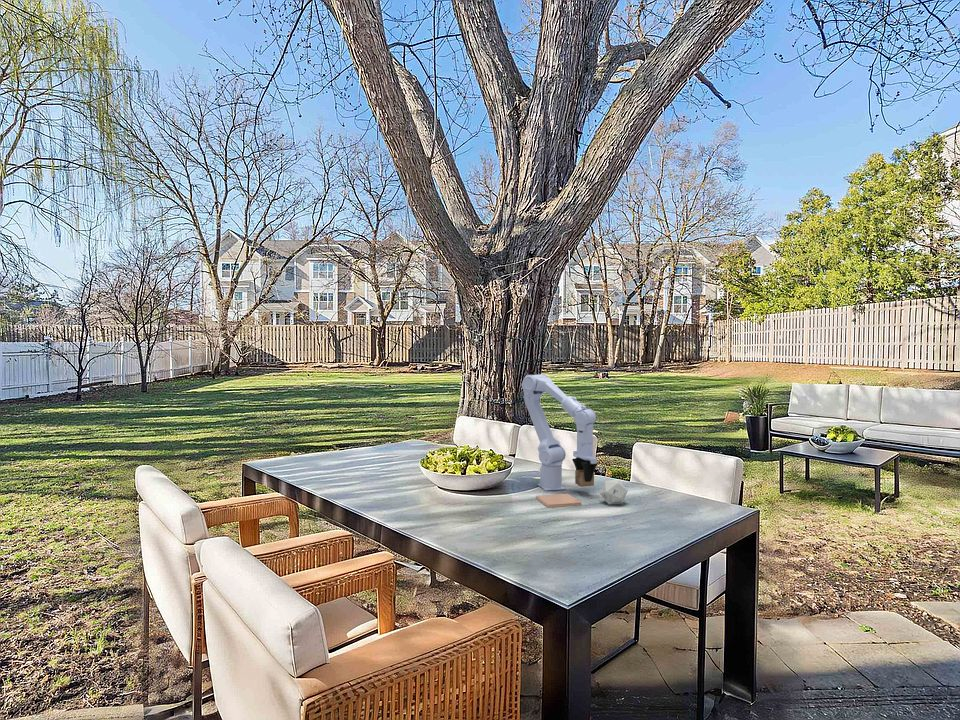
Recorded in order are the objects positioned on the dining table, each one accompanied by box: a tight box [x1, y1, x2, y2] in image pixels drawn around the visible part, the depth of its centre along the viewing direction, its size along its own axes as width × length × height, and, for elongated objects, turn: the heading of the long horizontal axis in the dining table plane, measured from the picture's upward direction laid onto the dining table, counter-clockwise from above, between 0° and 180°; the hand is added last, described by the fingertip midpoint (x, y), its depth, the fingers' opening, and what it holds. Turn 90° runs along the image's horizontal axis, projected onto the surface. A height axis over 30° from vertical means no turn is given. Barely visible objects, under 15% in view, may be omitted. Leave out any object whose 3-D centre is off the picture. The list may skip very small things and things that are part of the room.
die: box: [599, 479, 628, 506], centre depth 200 cm, size 8×9×10 cm
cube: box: [574, 469, 595, 488], centre depth 211 cm, size 5×5×5 cm
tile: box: [535, 493, 582, 509], centre depth 201 cm, size 12×12×1 cm
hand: (584, 479), depth 211 cm, fingers closed on cube, 5 cm apart
